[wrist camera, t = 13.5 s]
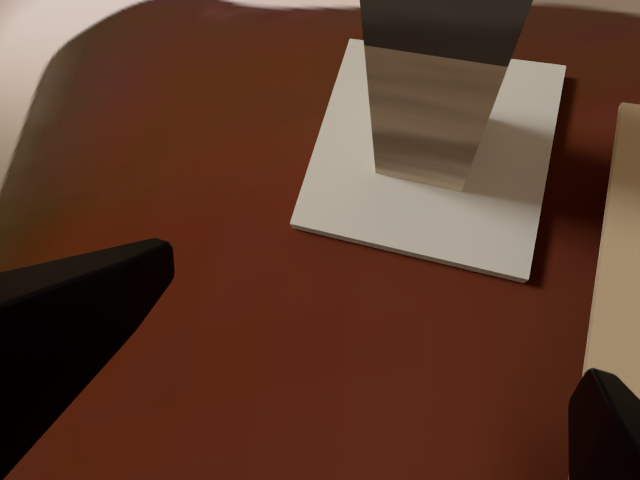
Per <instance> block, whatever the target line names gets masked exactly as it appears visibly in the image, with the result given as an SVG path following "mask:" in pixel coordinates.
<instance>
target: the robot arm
mask: <svg viewBox="0 0 640 480" xmlns="http://www.w3.org/2000/svg"><path fill="white" fill-rule="evenodd" d="M173 277H174V258H173V247H172V245H171V244H170V243H169V242H167V241H164V240H160V239H157V238H152V239H147V240H143V241H139V242H134V243H130V244H125V245H121V246H116V247H112V248H107V249H103V250H98V251H94V252H89V253H85V254H80V255H76V256H71V257H67V258H63V259H58V260H54V261H49V262H45V263H40V264H36V265H31V266H27V267H22V268H18V269H13V270H9V271H4V272H0V480H3V479H4V478H5V477H6V476H7V474H8V473H9V472H10V471H11V470H12V469H13V468H14V467H15V465H16V464H17V463H18V462H19V461H20V460H21V459H22V458H23V457H24V455H25V454H26V453H27V452H28V451H29V450H30V449H31V448H32V446H33V445H34V444H35V443H36V442H37V441H38V440H39V439H40V438H41V436H42V435H43V434H44V433H45V432H46V431H47V430H48V429H49V427H50V426H51V425H52V424H53V423H54V422H55V421H56V420H57V418H58V417H59V416H60V415H61V414H62V413H63V412H64V411H65V410H66V408H67V407H68V406H69V405H70V404H71V403H72V402H73V401H74V399H75V398H76V397H77V396H78V395H79V394H80V393H81V392H82V390H83V389H84V388H85V387H86V386H87V385H88V384H89V383H90V382H91V380H92V379H93V378H94V377H95V376H96V375H97V374H98V373H99V371H100V370H101V369H102V368H103V367H104V366H105V365H106V364H107V363H108V361H109V360H110V359H111V358H112V357H113V356H114V355H115V354H116V352H117V351H118V350H119V349H120V348H121V347H122V346H123V345H124V343H125V342H126V341H127V340H128V339H129V338H130V337H131V336H132V334H133V333H134V332H135V331H136V330H137V328H138V327H139V326H140V324H141V323H142V322H143V320H144V319H145V318H146V316H147V315H148V313H149V312H150V311H151V309H152V308H153V307H154V305H155V304H156V302H157V301H158V300H159V298H160V297H161V295H162V294H163V293H164V291H165V290H166V289H167V287H168V286H169V284H170V283H171V281H172V279H173ZM568 430H569V480H640V399H639V398H638V397H637V396H636V395H635V394H634V393H633V392H632V391H631V390H630V389H629V388H628V387H627V386H626V385H625V384H624V383H623V382H622V380H621V379H620V378H619V377H617V376H616V375H615V374H613V373H610V372H606V371H603V370H599V369H596V368H590V369H588V370H587V371H586V372H585V374H584V376H583V377H582V379H581V381H580V382H579V384H578V386H577V388H576V389H575V391H574V393H573V394H572V396H571V399H570V402H569V407H568Z"/></svg>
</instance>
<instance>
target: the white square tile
mask: <svg viewBox="0 0 640 480" xmlns="http://www.w3.org/2000/svg"><path fill="white" fill-rule="evenodd" d="M565 70H566V66H564V65H556V64H548V63H540V62H532V61H524V60H516V59H511V60H510V63H509V66H508V68H507V71H506V74H505V76H504V79H503V82H502V84H501V87H500V90H499V92H498V95H497V98H496V100H495V103H494V106H493V109H492V111H491V114H490V117H489V119H488V122H487V125H486V127H485V130H484V133H483V135H482V138H481V141H480V143H479V146H478V149H477V151H476V154H475V157H474V159H473V162H472V165H471V168H470V170H469V173H468V176H467V178H466V181H465V184H464V186H463V189H462V192H459V191H454V190H450V189H445V188H441V187H436V186H432V185H427V184H423V183H418V182H414V181H409V180H405V179H400V178H396V177H392V176H387V175H383V174H378V173H375V162H374V150H373V139H372V128H371V117H370V106H369V95H368V84H367V73H366V62H365V51H364V40H356V39H350V40H349V43H348V46H347V49H346V52H345V55H344V58H343V61H342V64H341V67H340V70H339V73H338V77H337V80H336V83H335V86H334V89H333V92H332V95H331V98H330V101H329V104H328V107H327V111H326V114H325V117H324V120H323V123H322V126H321V129H320V132H319V135H318V138H317V141H316V144H315V148H314V151H313V154H312V157H311V160H310V163H309V166H308V169H307V172H306V175H305V178H304V181H303V185H302V188H301V191H300V194H299V197H298V200H297V203H296V206H295V209H294V212H293V215H292V218H291V222H290V225H291V226H292V227H293V228H294V229H298V230H302V231H306V232H310V233H315V234H319V235H323V236H327V237H331V238H336V239H340V240H344V241H348V242H353V243H357V244H361V245H365V246H369V247H374V248H378V249H382V250H386V251H390V252H395V253H399V254H403V255H407V256H412V257H416V258H420V259H424V260H428V261H433V262H437V263H441V264H445V265H449V266H454V267H458V268H462V269H466V270H470V271H475V272H479V273H483V274H487V275H492V276H496V277H500V278H504V279H508V280H513V281H517V282H521V283H525V282H526V281H528V280H529V275H530V270H531V264H532V258H533V253H534V247H535V241H536V235H537V230H538V224H539V218H540V213H541V207H542V201H543V195H544V190H545V184H546V178H547V173H548V167H549V161H550V155H551V150H552V144H553V138H554V133H555V127H556V121H557V115H558V110H559V104H560V98H561V93H562V87H563V81H564V75H565Z"/></svg>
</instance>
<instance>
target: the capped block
mask: <svg viewBox="0 0 640 480" xmlns="http://www.w3.org/2000/svg"><path fill="white" fill-rule="evenodd" d="M532 1H533V0H360V7H361V18H362V29H363V40H364V51H365V62H366V73H367V84H368V95H369V106H370V117H371V128H372V139H373V150H374V162H375V173H378V174H383V175H387V176H392V177H396V178H400V179H405V180H409V181H414V182H418V183H423V184H427V185H432V186H436V187H441V188H445V189H450V190H454V191H459V192H462V189H463V186H464V184H465V181H466V178H467V176H468V173H469V170H470V168H471V165H472V162H473V159H474V157H475V154H476V151H477V149H478V146H479V143H480V141H481V138H482V135H483V133H484V130H485V127H486V125H487V122H488V119H489V117H490V114H491V111H492V109H493V106H494V103H495V100H496V98H497V95H498V92H499V90H500V87H501V84H502V82H503V79H504V76H505V74H506V71H507V68H508V66H509V63H510V60H511V58H512V55H513V52H514V50H515V47H516V44H517V41H518V39H519V36H520V33H521V31H522V28H523V25H524V23H525V20H526V17H527V15H528V12H529V9H530V7H531V4H532Z"/></svg>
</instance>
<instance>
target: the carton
mask: <svg viewBox="0 0 640 480" xmlns="http://www.w3.org/2000/svg"><path fill="white" fill-rule="evenodd" d="M590 368H596V369H599V370H603V371H606V372H610V373H613V374H615V375H616V376H617V377H619V378H620V379H621V380H622V382H623V383H624V384H625V385H626V386H627V387H628V388H629V389H630V390H631V391H632V392H633V393H634V394H635V395H636V396H637V397H638V398H639V399H640V105H637V104H630V103H623V102H622V103H621V105H620V106H619V110H618V117H617V124H616V132H615V139H614V146H613V154H612V161H611V168H610V176H609V183H608V190H607V198H606V205H605V212H604V220H603V227H602V234H601V242H600V249H599V256H598V264H597V271H596V278H595V286H594V293H593V300H592V308H591V315H590V322H589V330H588V337H587V344H586V352H585V359H584V366H583V374H582V377H583V376H584V374H585V372H586V371H587V370H588V369H590ZM568 480H569V476H568Z"/></svg>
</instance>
